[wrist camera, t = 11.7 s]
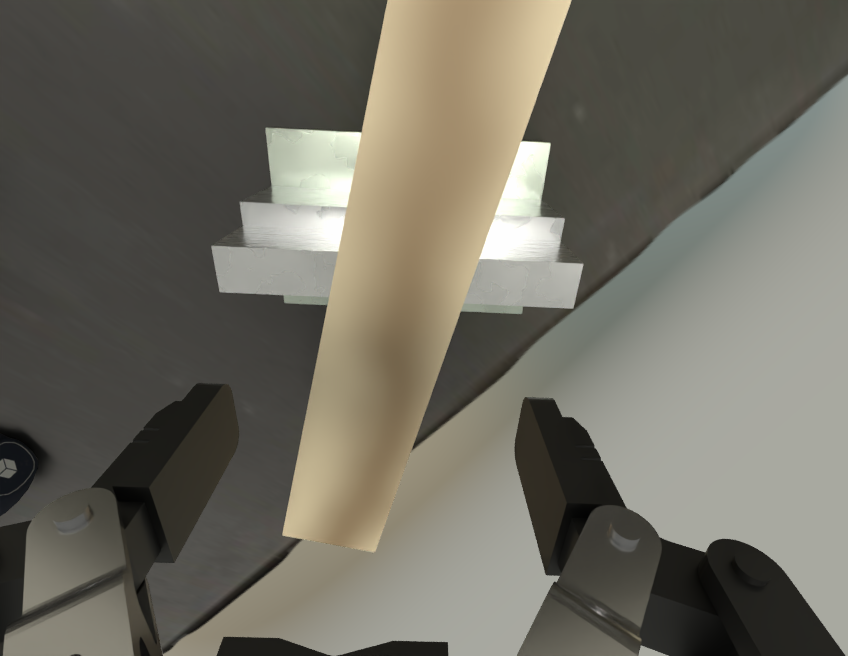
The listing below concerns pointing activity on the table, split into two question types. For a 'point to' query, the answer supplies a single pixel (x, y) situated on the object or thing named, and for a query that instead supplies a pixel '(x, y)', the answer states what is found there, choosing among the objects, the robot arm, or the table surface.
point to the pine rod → (412, 244)
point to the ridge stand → (324, 218)
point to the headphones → (15, 471)
